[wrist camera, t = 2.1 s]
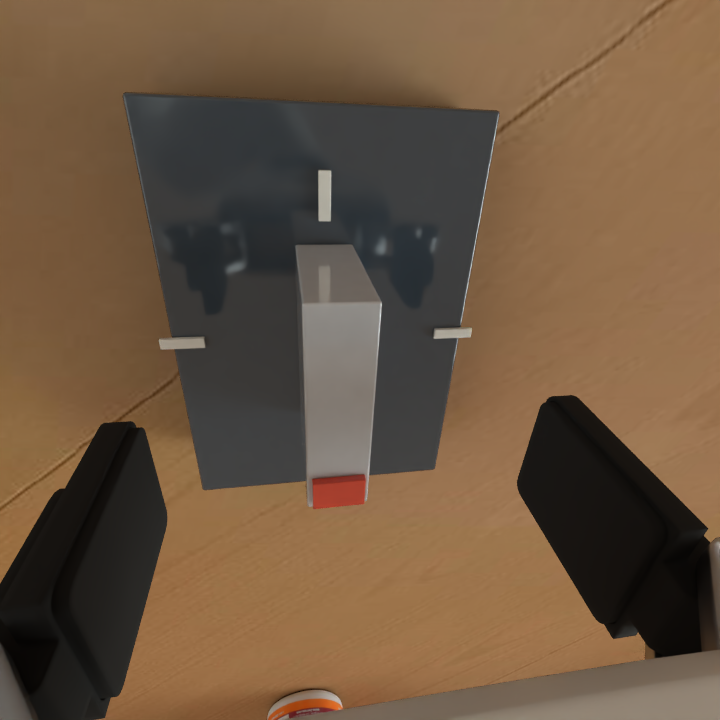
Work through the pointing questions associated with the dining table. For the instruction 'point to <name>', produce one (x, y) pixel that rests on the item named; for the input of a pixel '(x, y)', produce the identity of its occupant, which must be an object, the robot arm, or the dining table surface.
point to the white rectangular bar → (336, 371)
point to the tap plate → (278, 269)
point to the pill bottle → (304, 704)
